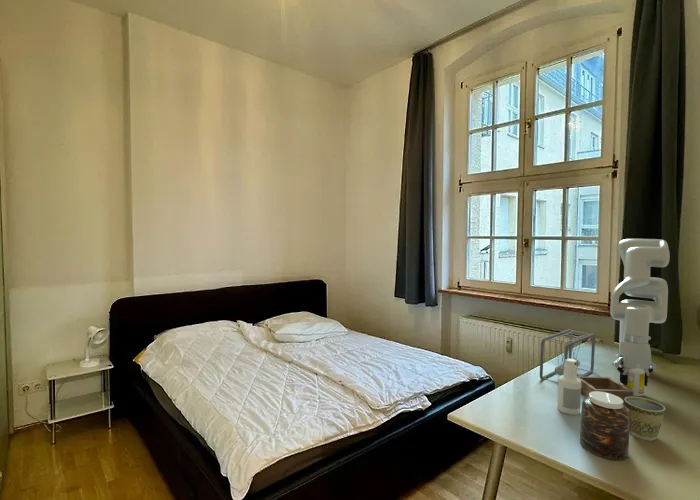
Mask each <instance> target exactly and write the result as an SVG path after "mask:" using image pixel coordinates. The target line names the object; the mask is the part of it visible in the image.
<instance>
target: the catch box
mask: <svg viewBox="0 0 700 500" xmlns="http://www.w3.org/2000/svg"><path fill="white" fill-rule="evenodd" d="M577 378H578V379H580V380H581V396H583V397H584V398H586V397H589V393H590V392H593V391H600V392H606V393H610V394H613V395H616V396H618V397H619V398H621V399H622V400H623V405H624V406H625V404H624V398H626V397H631V396H633V391H631V390H630V389H628V388H626V387H625V386H623V384H622V383H620V382H618V381H616V380H615V379H613V378H612V377H609V376H607V377H606V376H581V375H577ZM633 397H634V396H633Z"/></svg>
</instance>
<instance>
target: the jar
mask: <svg viewBox="0 0 700 500" xmlns="http://www.w3.org/2000/svg"><path fill="white" fill-rule="evenodd" d="M580 413H581V414H580V430H579V431H580V432H579V433H580V434H579V436H580V437H579V442H580V445H581V446H582V448H583V449H585V450H586V451H588V452H590V453H591V454H593V455H595V456H597V457H600V458H603V459H607V460H611V461H624V460H627V458H628V457H629V450H630V449H629V448H630V447H629V446H630V445H629V444H630V412H629V409H628V408H627V407H626V406H625V405H623V400H622V399H621V398H619V397H618V396H616V395H613V394H610V393H606V392H600V391H593V392H590V393H589V397H584V398H583V399H582V402H581V409H580Z"/></svg>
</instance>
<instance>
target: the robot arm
mask: <svg viewBox="0 0 700 500" xmlns="http://www.w3.org/2000/svg"><path fill="white" fill-rule="evenodd" d="M618 253H619V256H620V258H621V260H622V264H623V281H621V282H620V283H618V285H616V286H615V288H614V289H613V290H612V293H611V295H610V296H611V297H610V306H609V307H610V308H609V311H610V312H609V313H610V316H611V317H612V319H613V320H616V321H619V337H618V338H619V339H618V342H619V343H618V350H617V352H618V353H616V354H615V357H616V358H617V359H616V360H614V361H613V362H612V363H611V364H612V366H613V367H614V368H615V369H616V370H617V371H618V373H619V381H620V382H619V383H620V384H622V385H623V384H624V385H627V380H628V376H627V375H626V373H627V372H628V370H629V369H634V368H637V367H638V366H637V365H638V364H640V366H639V368H640V369H644V371H645V381H644V387H648V382H649V381H648V380H649V376H650V375H651V373H652V372H654V370H655V369H656V368H657V367H658V365H657V364H656V363H655V362H654V361H652V351H651V345H650V343H649V341H650V340H652V338H651V335H650V336H649V333H650V332H649V331H650V323H653V324H663V323H665V322H666V321H667V316H668V303H669V302H668V301H669V299H668V298H669V287H668V282H667V281H666V280H665V279H663V278H661V277H653V276H652V277H651V268H652V267H653V268H665V267H667V266H668V265H669V263H670V257H671V256H670V255H671V254H670V249H669V245H668V242H667V241H666V240H664V239H660V238H659V239H657V238H625V239H622V240H620V241H619V242H618ZM623 293H624V294H625V295H626V296H629V297H635V298H643V299H645V298H646V299H652V300H654V301H652V300H651V301H650V300H642V299H641V300H640V299H630V298H629V299H627V298H626V299H623V300H621V301H620V297H621V295H623ZM624 368H625V369H624Z"/></svg>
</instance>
